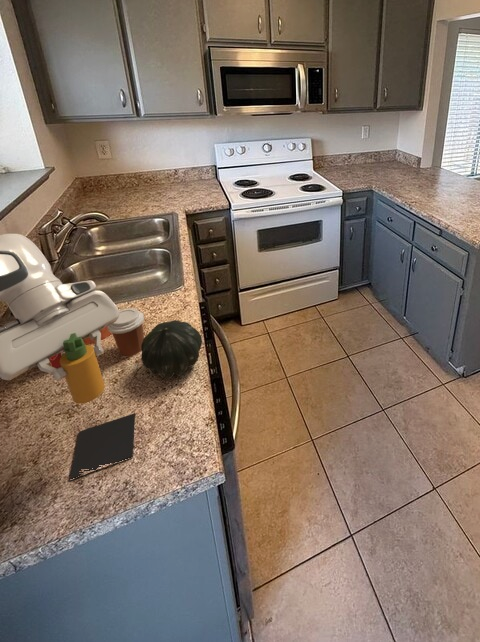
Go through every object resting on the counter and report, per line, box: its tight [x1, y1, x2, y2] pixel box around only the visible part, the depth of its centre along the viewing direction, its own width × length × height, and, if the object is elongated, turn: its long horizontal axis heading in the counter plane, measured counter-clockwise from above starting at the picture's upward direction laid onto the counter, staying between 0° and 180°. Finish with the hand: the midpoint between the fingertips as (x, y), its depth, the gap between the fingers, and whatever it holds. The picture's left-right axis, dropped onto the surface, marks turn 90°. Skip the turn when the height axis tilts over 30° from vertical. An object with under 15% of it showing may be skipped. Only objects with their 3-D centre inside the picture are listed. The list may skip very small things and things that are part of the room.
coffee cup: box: [107, 307, 145, 358], centre depth 100 cm, size 9×9×12 cm
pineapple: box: [60, 333, 106, 405], centre depth 68 cm, size 5×5×13 cm
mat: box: [68, 412, 136, 481], centre depth 76 cm, size 11×11×1 cm
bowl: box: [83, 327, 113, 345], centre depth 109 cm, size 13×13×4 cm
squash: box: [141, 319, 203, 380], centre depth 95 cm, size 14×15×15 cm
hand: (82, 366), depth 68 cm, fingers closed on pineapple, 5 cm apart
